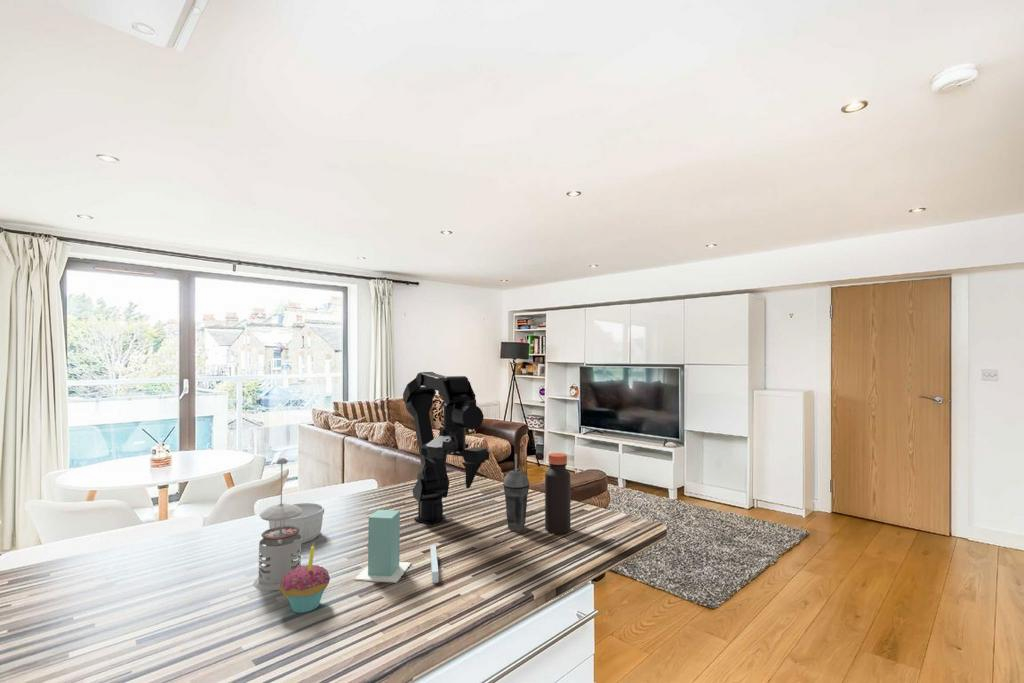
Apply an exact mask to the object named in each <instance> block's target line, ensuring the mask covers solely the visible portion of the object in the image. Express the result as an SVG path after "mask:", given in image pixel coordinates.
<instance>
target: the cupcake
mask: <svg viewBox="0 0 1024 683" xmlns="http://www.w3.org/2000/svg"><path fill="white" fill-rule="evenodd" d="M314 555H315V542H313V543H312V546H310V552H309V557H308V564H307V565H305V564H303V565H301V566H299V567H296V568H294V569H292V570H291V571H289V573H286V575H285V576H284V577H283V579H282V580H281V582H280V585H279V588H280V592H281V594H282V595H283V596H285V597H286V598H287V599H288V603H289V605H290V608H291V611H292V612H294V613H296V614H297V613H300V614H301V613H303V614H304V613H308V612H311V611H313V610H315V609H317V608H318V607H319V605H320V603H321V600H322V596H323V594H324V592H325V590H326V588H327V587H328V585H329V583H330V580H331V578H330V574H329V571H328V570H327V569H326V568H324V566H321V565H317V564H313V563H314V562H313V561H314Z"/></svg>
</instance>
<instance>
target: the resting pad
mask: <svg viewBox="0 0 1024 683" xmlns="http://www.w3.org/2000/svg"><path fill="white" fill-rule="evenodd" d="M410 564H411V565H412V562H406V561H405V562H403V561H399V567H398V568H397V570H396V571H395V572H394V573H393V574H392V576H376V575H368V565H367V566H366V567H365V568H364V569H363V570H362V571H361V572H359V573H358V575H357V576H356V577H354V581H363V582H364V581H365V582H379V583H394V584H397V583H398V582H399V580H400V579H401V578H402V577H403V575H404V574H405V573H406V572H407V570H408V569H409V568H408V567H411V565H410ZM404 572H405V573H404ZM401 576H402V577H401Z"/></svg>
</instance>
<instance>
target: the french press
mask: <svg viewBox="0 0 1024 683" xmlns="http://www.w3.org/2000/svg"><path fill="white" fill-rule="evenodd" d="M287 463H288V460H287V458H285V457H279V458H278V459H277V462H276V464H277V465H281V466H280V503H278V504H274V505H271V506H269V507H266V508H265V509H264V510H262V511H261V512H260V513H259V515H258V516H259V517H260V518H261V519H262V520H264V521H267V522H269V521H275V528H271V529H270V528H269V529H266V530H264V531H263V532H262V533H261V537H262V539H260V540H259V542H258V545H259V546H258V551H259V552H258V576H257V577H256V579H255V580H254V582H253V584H252V585H253V587H254V588H255V589H256V590H259V591H268V592H269V591H270V592H271V591H278V590H280V588H279V585H280V582H281V580H282V579H283V577H284V576H285V575H286V573H289V571H291V570H292V569H294V568H296V567H299V566H302V564H301V561H302V557H301V556H302V545H301V544H302V543H301V536H300V535H299V534H298V532H299V530H300V529H299V528H297V527H294V526H285V527H284V522H285V520H286V519H291V518H294V517H297V516H298V515H300V514H301V512H302V509H301V508H300V507H298V506H296V505H291V504H290V503H283V502H282V501H283V468H284V467H283V465H286V464H287ZM281 520H283V527H282V526H281ZM276 521H280V527H276ZM281 539H282V545H279V544H278V540H281ZM296 539H299V540H298V541H296V542H294V540H296ZM296 553H297V554H296ZM263 558H264V559H263ZM262 564H263V565H264V566H263V565H262Z"/></svg>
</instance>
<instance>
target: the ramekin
mask: <svg viewBox="0 0 1024 683" xmlns="http://www.w3.org/2000/svg"><path fill="white" fill-rule="evenodd" d="M291 505H296V506H298V507H300V508H301V509H302V512H301V514H300V515H298V516H297V517H294V518H291V519H286V520H285V522H284V527H285V526H294V527H297V528H299V529H300V530H299V532H298V534H299V535H300V536H301V544H305V543H308V542H311V541H313V540H315V539H316V538H317V537H318V536H319V535H320V533H321V531H322V528H323V519H324V518H323V517H324V514H325V506H324V505H322V504H320V503H315V502H301V503H292V504H291ZM268 525H269V529H271V528H275V521H268ZM281 526H282V527H283V520H281ZM276 527H280V521H276ZM298 540H299V539H296V540H294V542H296V541H298ZM278 546H282V539H281V540H278Z"/></svg>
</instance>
